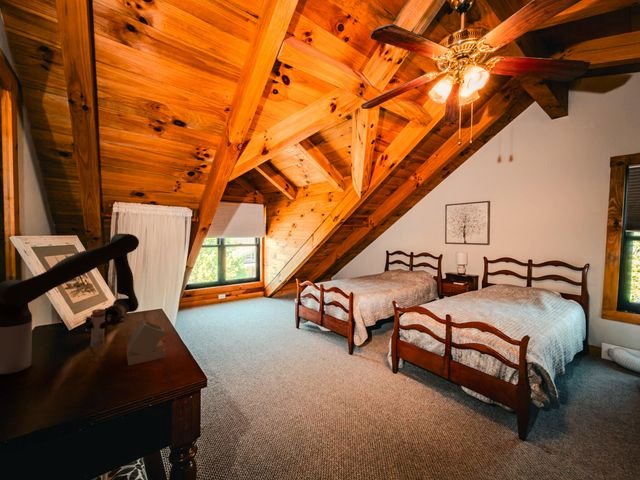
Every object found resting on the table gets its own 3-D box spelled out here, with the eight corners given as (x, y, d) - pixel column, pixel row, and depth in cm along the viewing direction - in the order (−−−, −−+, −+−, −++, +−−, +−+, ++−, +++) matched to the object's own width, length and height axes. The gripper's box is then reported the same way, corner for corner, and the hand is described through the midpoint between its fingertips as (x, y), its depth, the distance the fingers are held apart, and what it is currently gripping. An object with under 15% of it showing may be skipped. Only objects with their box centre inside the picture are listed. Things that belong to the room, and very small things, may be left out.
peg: (90, 348, 108) (92, 312, 108) (90, 344, 111) (92, 309, 111) (103, 346, 110) (105, 311, 110) (103, 342, 114) (105, 308, 113)
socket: (128, 365, 110) (129, 328, 110) (126, 355, 119) (127, 320, 119) (165, 357, 118) (166, 323, 118) (161, 348, 127) (162, 316, 127)
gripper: (94, 306, 122) (73, 317, 106) (131, 305, 126) (117, 316, 110) (93, 323, 122) (72, 337, 106) (130, 322, 127) (116, 335, 110)
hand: (95, 326), depth 108 cm, fingers closed on peg, 4 cm apart
